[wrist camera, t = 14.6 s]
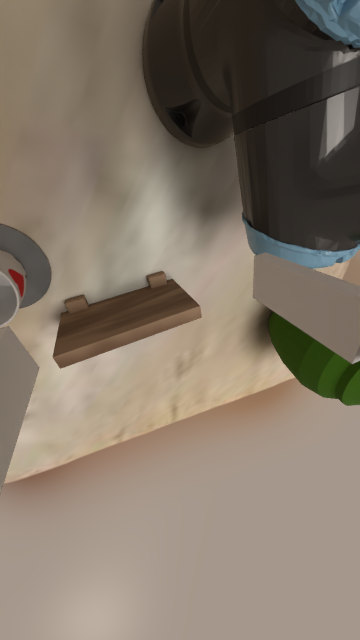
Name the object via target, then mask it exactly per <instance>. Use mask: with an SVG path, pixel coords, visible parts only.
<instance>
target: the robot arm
mask: <svg viewBox="0 0 360 640" xmlns="http://www.w3.org/2000/svg"><path fill="white" fill-rule="evenodd" d="M143 68H144V76H145V81H146V86H147V90H148V93H149V97H150V99H151V102H152V105H153V107H154V109H155V111H156V113H157V115H158V117H159V119H160V120H161V122H162V123H163V125H164V126H165V127H166V128H167V130H168V131H169V132H170V133H171V134H172V135H173V136H174V137H176V138H177V139H178V140H180V141H181V142H183V143H185V144H187V145H190V146H194V147H208V146H212V145H214V144H217V143H219V142H222V141H224V140H225V139H227V138H228V137H230V136H231V135H232V134H233V133H234V140H235V148H236V156H237V165H238V173H239V181H240V189H241V198H242V206H243V212H242V219H243V222H244V224H245V228H246V234H247V239H248V244H249V247H250V249H251V250H252V252H253V253H254V254H255V256H254V279H253V298H254V299H256V300H257V301H259V302H260V303H262V304H263V305H265V306H266V307H268V308H269V309H271V310H272V311H274V312H275V313H277V314H278V315H280V316H281V317H283V318H284V319H286V320H287V321H289V322H290V323H292V324H293V325H295V326H296V327H298V328H299V329H301V330H302V331H304V332H305V333H307V334H308V335H310V336H311V337H313V338H314V339H316V340H317V341H319V342H320V343H322V344H323V345H325V346H326V347H327V348H329V349H330V350H332V351H333V352H335V353H336V354H338V355H339V356H341V357H342V358H344V359H345V360H347V361H348V362H350V363H351V364H354V363H356V362H358V361H360V286H358V285H355V284H352V283H350V282H347V281H344V280H341V279H338V278H336V277H333V276H330V275H327V274H324V273H322V272H319V271H316V270H313V269H312V268H323V267H328V266H332V265H334V263H335V262H336V263H342V262H345V261H347V260H349V259H350V258H352V257H353V256H354V255H355V254H356V252H357V251H358V250H359V249H360V0H153V3H152V6H151V9H150V12H149V14H148V18H147V21H146V26H145V31H144V38H143ZM325 99H326V100H325ZM317 102H318V103H317ZM312 104H313V105H312ZM307 106H308V107H307ZM302 108H303V109H302ZM299 109H300V110H299ZM297 110H298V111H297ZM294 111H295V112H294ZM289 113H290V114H289ZM284 115H285V116H284ZM279 117H280V118H279ZM276 118H277V119H276ZM274 119H275V120H274ZM271 120H272V121H271ZM269 121H270V122H269ZM266 122H267V123H266ZM264 123H265V124H264ZM261 124H262V125H261ZM258 125H259V126H258ZM256 126H257V127H256ZM251 128H252V129H251ZM248 129H249V130H248ZM246 130H247V131H246ZM243 131H244V132H243ZM241 132H242V133H241ZM39 368H40V367H39V366H38V365H37V363H36V362H35V361H34V359H33V358H32V357H31V355H30V354H29V353H28V351H27V350H26V348H25V347H24V346H23V344H22V343H21V342H20V340H19V339H18V338H17V336H16V335H15V334H14V332H13V331H12V330H11V328H10V327H9V326H7V327H4V328H0V494H1V490H2V487H3V484H4V481H5V478H6V474H7V471H8V468H9V465H10V461H11V458H12V455H13V452H14V449H15V445H16V442H17V439H18V436H19V432H20V429H21V426H22V423H23V419H24V416H25V413H26V410H27V407H28V403H29V400H30V397H31V394H32V390H33V387H34V384H35V381H36V377H37V374H38V371H39Z"/></svg>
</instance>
